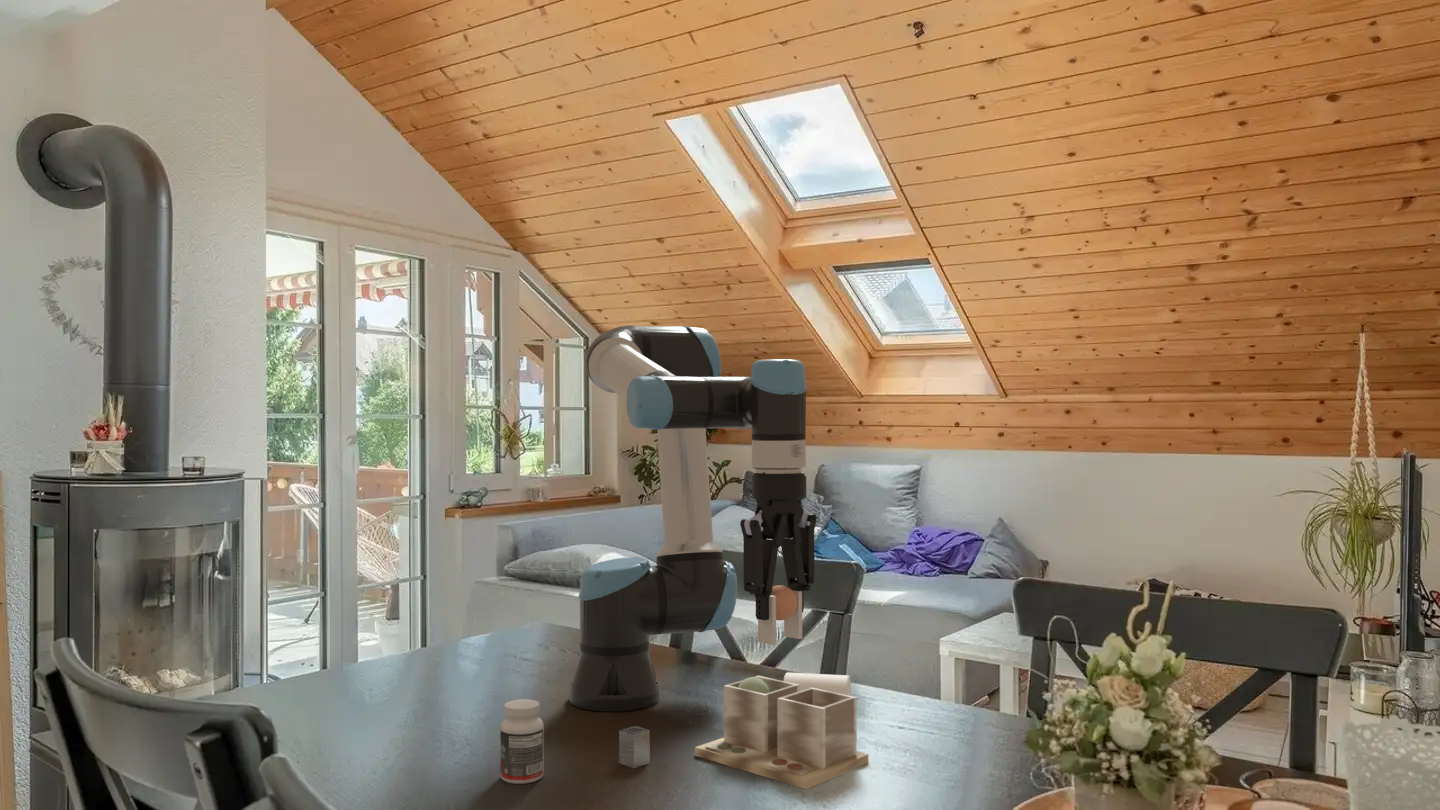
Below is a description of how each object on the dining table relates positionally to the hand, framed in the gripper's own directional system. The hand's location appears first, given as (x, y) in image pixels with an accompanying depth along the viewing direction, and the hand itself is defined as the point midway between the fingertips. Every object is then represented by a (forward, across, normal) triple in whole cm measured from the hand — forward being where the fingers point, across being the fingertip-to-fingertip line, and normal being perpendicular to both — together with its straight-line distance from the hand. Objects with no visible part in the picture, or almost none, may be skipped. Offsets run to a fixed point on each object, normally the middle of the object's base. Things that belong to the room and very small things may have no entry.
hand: (780, 639), depth 151 cm
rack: (+17, +2, +2) cm, 18 cm away
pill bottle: (+18, -28, +22) cm, 39 cm away
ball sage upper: (+9, +3, +8) cm, 13 cm away
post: (+17, -13, +15) cm, 27 cm away
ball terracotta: (-5, 0, 0) cm, 5 cm away
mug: (+17, +20, +10) cm, 28 cm away
